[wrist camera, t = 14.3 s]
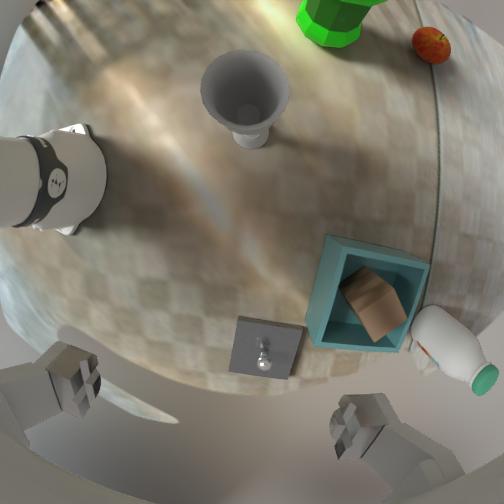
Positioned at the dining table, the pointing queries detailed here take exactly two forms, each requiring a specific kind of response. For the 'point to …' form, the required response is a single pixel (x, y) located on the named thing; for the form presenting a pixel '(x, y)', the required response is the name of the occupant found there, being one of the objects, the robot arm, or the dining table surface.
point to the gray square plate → (264, 348)
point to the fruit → (431, 45)
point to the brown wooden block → (372, 302)
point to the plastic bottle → (333, 20)
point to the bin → (337, 309)
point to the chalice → (245, 94)
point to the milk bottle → (453, 348)
